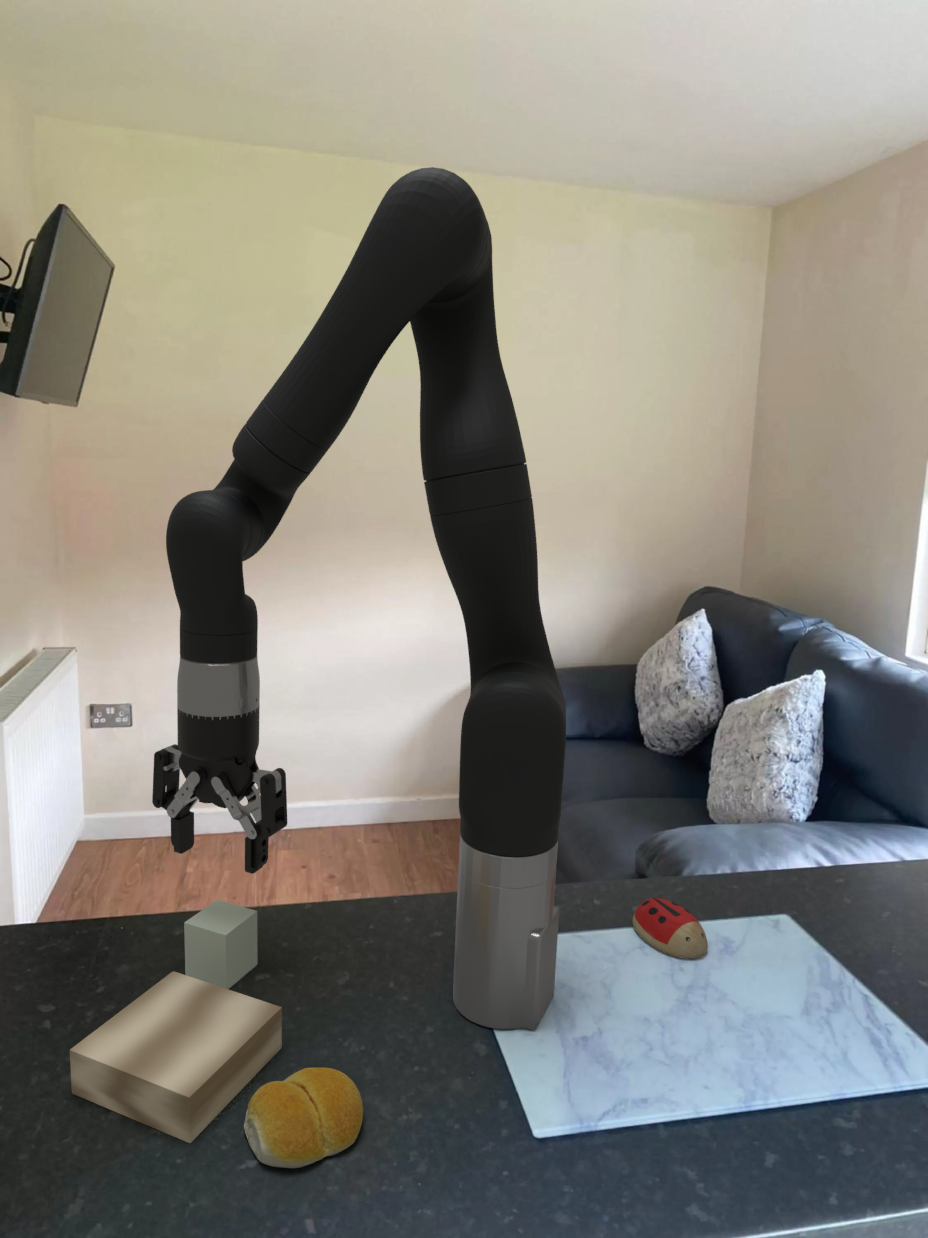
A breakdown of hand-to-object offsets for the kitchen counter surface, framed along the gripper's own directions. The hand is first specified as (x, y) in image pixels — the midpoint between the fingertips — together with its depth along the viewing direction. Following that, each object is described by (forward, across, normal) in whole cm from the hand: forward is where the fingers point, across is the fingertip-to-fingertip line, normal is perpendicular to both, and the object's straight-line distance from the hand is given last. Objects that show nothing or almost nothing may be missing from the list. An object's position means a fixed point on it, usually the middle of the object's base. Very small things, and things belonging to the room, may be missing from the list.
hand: (218, 859), depth 86 cm
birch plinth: (+12, -6, +13) cm, 19 cm away
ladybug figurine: (+12, -40, -27) cm, 50 cm away
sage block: (+12, 0, 0) cm, 12 cm away
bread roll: (+12, -19, +14) cm, 27 cm away
